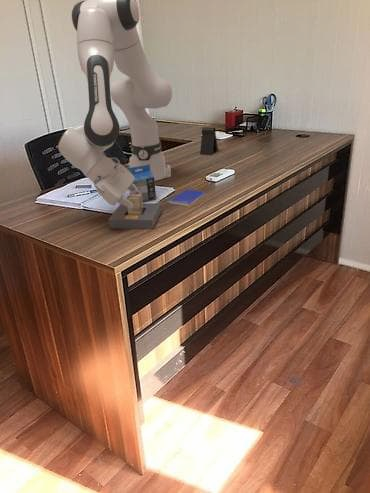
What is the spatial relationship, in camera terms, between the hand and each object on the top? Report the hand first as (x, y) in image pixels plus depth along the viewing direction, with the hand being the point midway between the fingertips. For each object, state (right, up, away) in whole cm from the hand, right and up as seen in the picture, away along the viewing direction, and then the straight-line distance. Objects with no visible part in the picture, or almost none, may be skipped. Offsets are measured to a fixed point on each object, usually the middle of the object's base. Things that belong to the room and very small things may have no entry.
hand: (136, 201), depth 137 cm
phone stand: (+28, +32, +74) cm, 85 cm away
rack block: (0, -6, +3) cm, 6 cm away
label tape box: (0, +2, +19) cm, 19 cm away
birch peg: (0, -6, +3) cm, 6 cm away
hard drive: (+16, +2, +18) cm, 25 cm away
